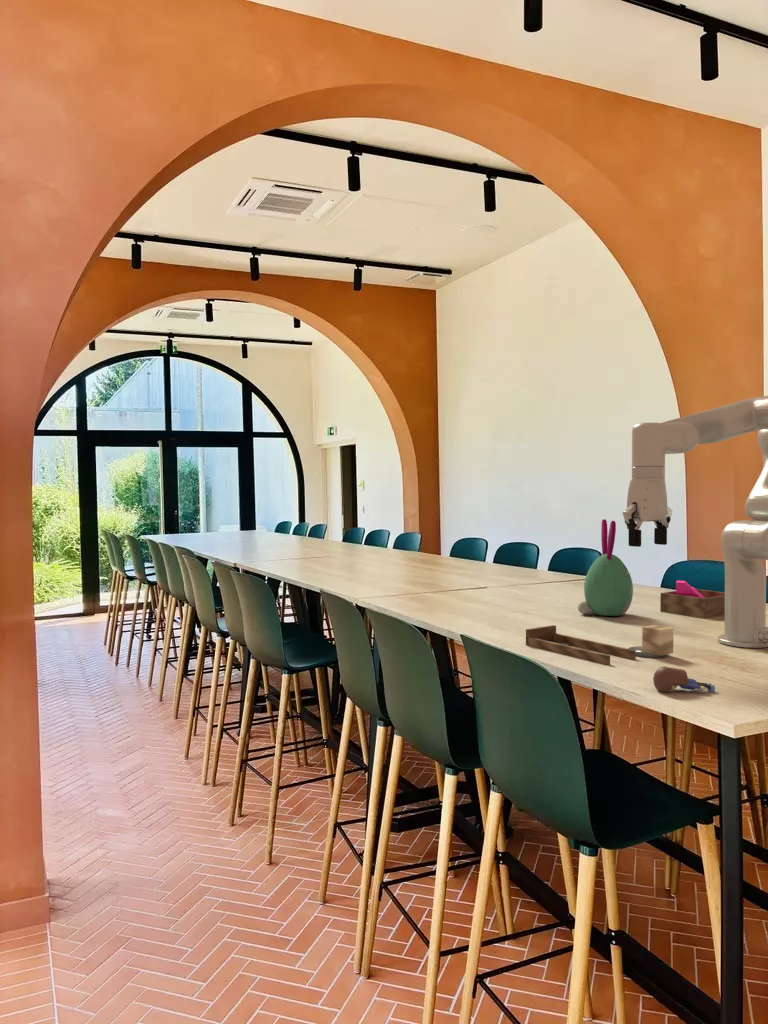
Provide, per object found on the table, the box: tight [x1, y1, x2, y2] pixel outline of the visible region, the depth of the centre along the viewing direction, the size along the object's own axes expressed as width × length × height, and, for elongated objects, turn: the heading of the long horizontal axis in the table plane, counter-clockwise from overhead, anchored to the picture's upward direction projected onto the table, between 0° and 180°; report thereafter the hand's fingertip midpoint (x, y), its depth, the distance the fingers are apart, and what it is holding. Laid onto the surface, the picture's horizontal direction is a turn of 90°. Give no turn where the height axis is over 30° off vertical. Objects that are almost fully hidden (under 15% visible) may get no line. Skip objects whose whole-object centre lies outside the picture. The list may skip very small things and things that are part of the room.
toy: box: [577, 518, 634, 617], centre depth 233 cm, size 15×17×30 cm
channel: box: [525, 624, 637, 666], centre depth 182 cm, size 26×10×4 cm, turn 34°
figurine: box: [652, 666, 716, 693], centre depth 146 cm, size 5×5×12 cm
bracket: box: [675, 580, 705, 598], centre depth 238 cm, size 12×10×10 cm
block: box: [641, 624, 675, 656], centre depth 177 cm, size 5×5×6 cm
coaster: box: [627, 645, 668, 659], centre depth 179 cm, size 9×9×1 cm
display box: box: [659, 588, 725, 619], centre depth 237 cm, size 15×17×6 cm
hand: (647, 545), depth 178 cm, fingers open, 9 cm apart
